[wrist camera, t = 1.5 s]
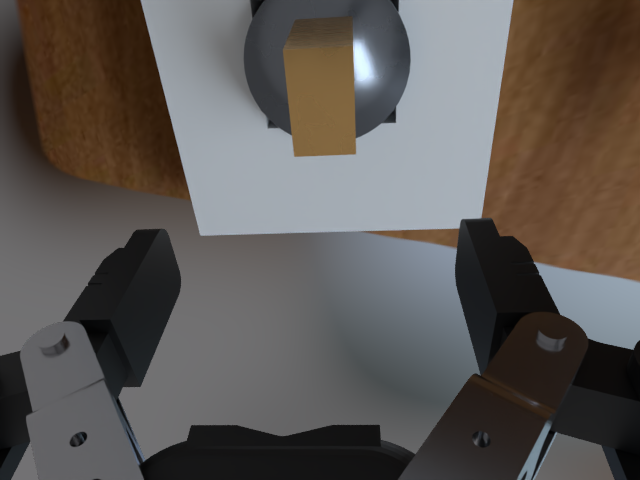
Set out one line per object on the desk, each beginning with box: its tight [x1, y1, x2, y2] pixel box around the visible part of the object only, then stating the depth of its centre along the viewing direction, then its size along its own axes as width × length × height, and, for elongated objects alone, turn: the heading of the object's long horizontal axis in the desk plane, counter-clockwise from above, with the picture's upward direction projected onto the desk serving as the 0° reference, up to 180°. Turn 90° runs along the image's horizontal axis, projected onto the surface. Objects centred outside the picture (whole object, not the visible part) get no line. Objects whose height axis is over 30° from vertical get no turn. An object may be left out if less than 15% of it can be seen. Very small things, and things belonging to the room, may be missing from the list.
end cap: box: [244, 0, 411, 157], centre depth 27 cm, size 9×9×12 cm
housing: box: [141, 0, 513, 235], centre depth 31 cm, size 24×20×6 cm
